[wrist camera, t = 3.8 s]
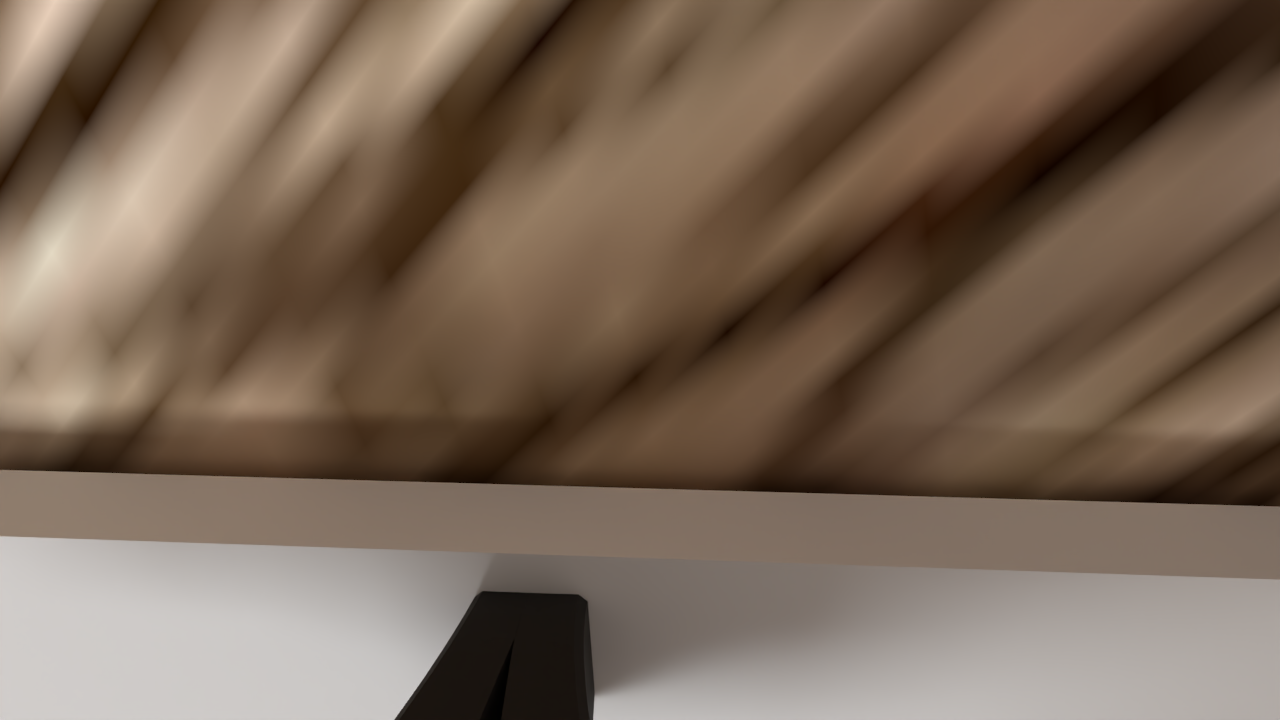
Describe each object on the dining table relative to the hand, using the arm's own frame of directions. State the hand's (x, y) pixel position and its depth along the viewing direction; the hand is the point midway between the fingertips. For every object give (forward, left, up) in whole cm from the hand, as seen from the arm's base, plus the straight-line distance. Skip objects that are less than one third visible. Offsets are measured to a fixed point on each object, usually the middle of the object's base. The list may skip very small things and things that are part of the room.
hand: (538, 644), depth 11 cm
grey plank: (-2, 0, -1) cm, 2 cm away
